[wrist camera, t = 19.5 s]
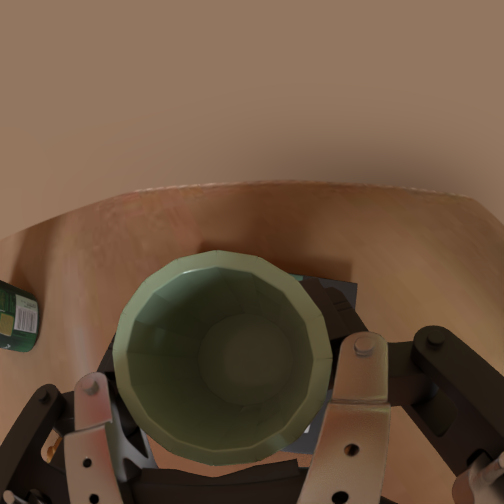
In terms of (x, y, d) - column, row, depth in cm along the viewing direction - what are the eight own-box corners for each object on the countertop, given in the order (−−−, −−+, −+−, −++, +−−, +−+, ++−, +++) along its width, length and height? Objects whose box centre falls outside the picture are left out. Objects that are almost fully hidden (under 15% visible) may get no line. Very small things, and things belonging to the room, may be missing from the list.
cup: (309, 316, 14) (345, 269, 7) (288, 420, 12) (303, 482, 5) (205, 298, 15) (144, 236, 8) (183, 396, 13) (98, 421, 6)
